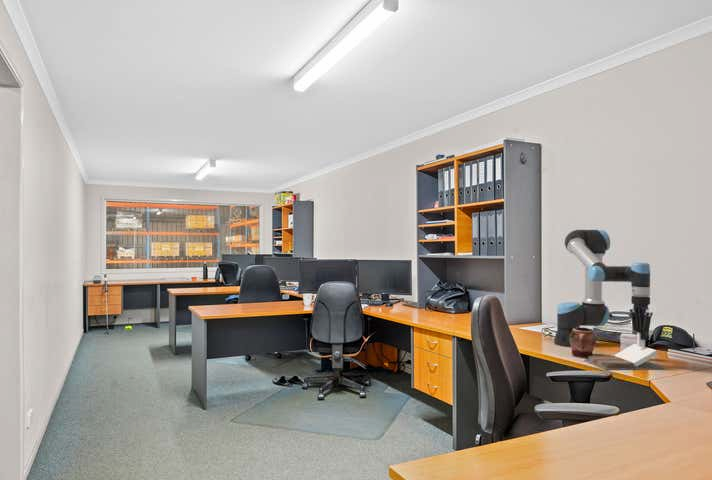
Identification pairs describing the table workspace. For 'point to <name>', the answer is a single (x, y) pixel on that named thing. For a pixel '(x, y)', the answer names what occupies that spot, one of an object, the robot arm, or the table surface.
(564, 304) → the robot arm
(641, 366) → the underlay mat
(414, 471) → the table surface
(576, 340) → the decorative planter
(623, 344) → the ink box
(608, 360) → the walnut plank
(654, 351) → the white flat board
